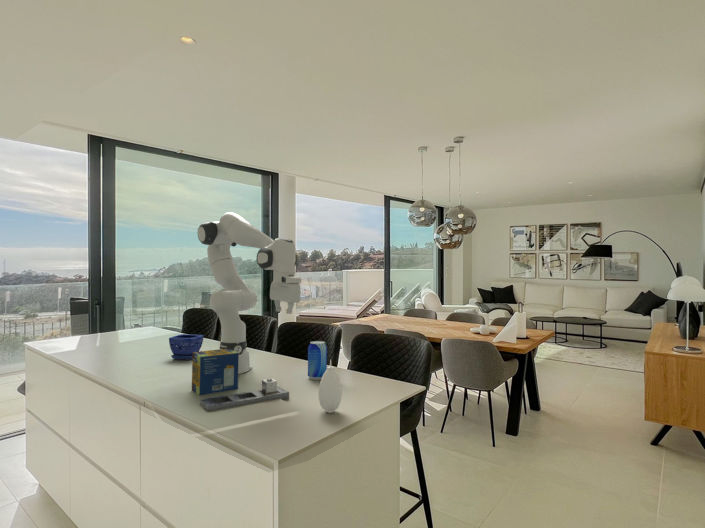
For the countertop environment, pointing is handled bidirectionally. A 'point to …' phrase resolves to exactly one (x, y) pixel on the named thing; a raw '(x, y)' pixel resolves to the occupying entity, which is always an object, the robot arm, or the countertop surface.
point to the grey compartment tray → (241, 399)
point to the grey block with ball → (269, 386)
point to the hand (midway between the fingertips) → (283, 312)
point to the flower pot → (185, 345)
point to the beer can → (317, 360)
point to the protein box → (214, 371)
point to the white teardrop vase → (330, 390)
